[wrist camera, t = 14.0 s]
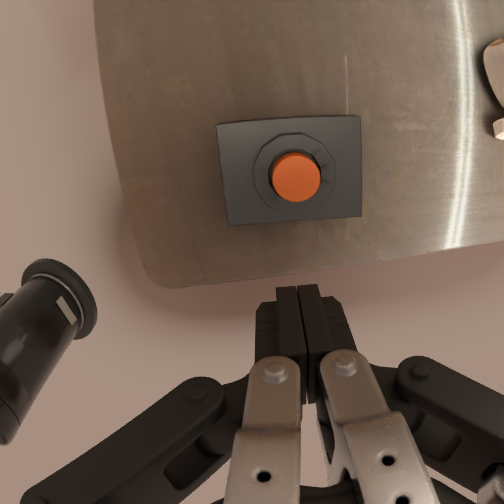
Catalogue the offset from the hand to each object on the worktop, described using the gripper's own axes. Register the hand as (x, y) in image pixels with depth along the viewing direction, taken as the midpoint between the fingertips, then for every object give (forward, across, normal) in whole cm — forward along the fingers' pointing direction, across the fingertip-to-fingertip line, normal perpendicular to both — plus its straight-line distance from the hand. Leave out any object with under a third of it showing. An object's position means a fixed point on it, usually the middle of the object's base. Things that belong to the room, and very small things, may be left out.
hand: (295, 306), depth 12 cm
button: (+15, -2, -1) cm, 16 cm away
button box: (+19, -2, -2) cm, 19 cm away
